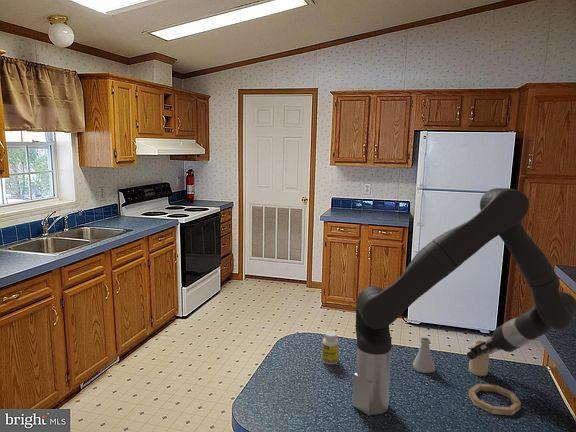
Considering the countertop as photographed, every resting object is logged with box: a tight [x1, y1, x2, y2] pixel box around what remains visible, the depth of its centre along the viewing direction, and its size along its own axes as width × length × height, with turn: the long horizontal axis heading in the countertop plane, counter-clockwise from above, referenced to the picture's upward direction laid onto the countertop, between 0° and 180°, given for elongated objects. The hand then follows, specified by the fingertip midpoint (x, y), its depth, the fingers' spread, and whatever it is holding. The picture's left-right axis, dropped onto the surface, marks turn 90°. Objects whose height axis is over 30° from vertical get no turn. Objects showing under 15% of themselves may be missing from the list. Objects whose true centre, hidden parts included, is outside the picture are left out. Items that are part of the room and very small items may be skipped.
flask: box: [412, 336, 436, 374], centre depth 137 cm, size 7×7×10 cm
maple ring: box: [468, 383, 522, 416], centre depth 120 cm, size 12×12×2 cm
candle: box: [468, 340, 490, 377], centre depth 135 cm, size 6×6×10 cm
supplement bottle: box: [321, 330, 339, 365], centre depth 141 cm, size 5×5×10 cm
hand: (478, 353), depth 135 cm, fingers open, 8 cm apart
